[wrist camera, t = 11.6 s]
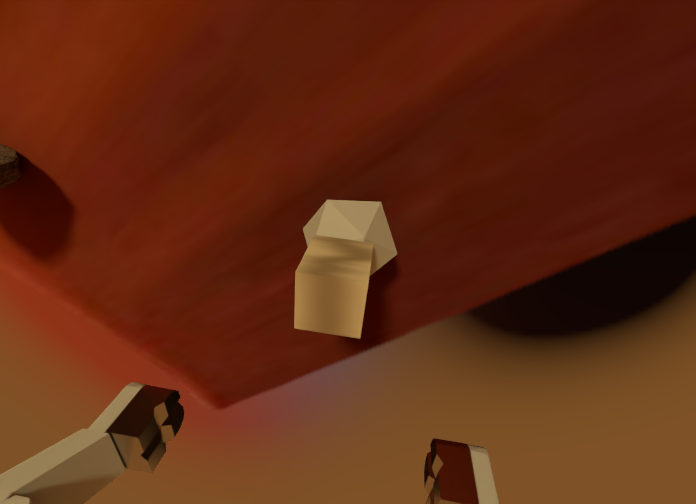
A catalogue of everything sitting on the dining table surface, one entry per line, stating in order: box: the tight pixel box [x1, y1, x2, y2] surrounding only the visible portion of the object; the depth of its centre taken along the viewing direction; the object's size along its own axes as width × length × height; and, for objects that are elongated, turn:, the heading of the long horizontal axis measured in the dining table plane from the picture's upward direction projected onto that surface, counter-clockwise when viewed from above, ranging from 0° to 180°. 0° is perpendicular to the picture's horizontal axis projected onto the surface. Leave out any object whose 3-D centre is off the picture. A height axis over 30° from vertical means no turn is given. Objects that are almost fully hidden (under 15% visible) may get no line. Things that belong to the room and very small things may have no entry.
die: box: [303, 200, 397, 276], centre depth 32 cm, size 8×9×10 cm
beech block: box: [294, 235, 374, 339], centre depth 26 cm, size 5×5×6 cm
